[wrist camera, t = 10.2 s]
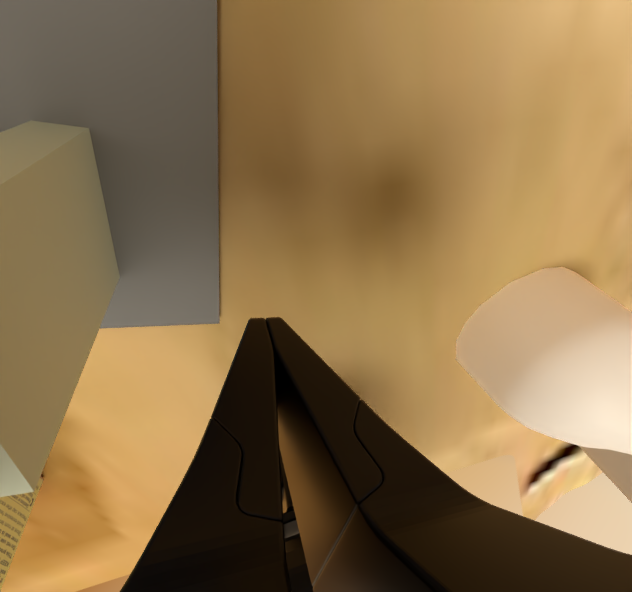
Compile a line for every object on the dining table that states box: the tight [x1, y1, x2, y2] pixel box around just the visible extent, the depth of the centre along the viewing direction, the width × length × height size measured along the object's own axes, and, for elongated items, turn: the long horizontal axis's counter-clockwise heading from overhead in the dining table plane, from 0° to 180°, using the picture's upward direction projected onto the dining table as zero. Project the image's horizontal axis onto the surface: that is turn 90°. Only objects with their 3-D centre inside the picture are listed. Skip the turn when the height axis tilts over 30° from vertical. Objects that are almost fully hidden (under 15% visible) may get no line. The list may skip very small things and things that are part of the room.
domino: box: [0, 121, 120, 497], centre depth 9 cm, size 2×6×9 cm, turn 170°
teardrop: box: [456, 267, 632, 455], centre depth 21 cm, size 11×11×12 cm
